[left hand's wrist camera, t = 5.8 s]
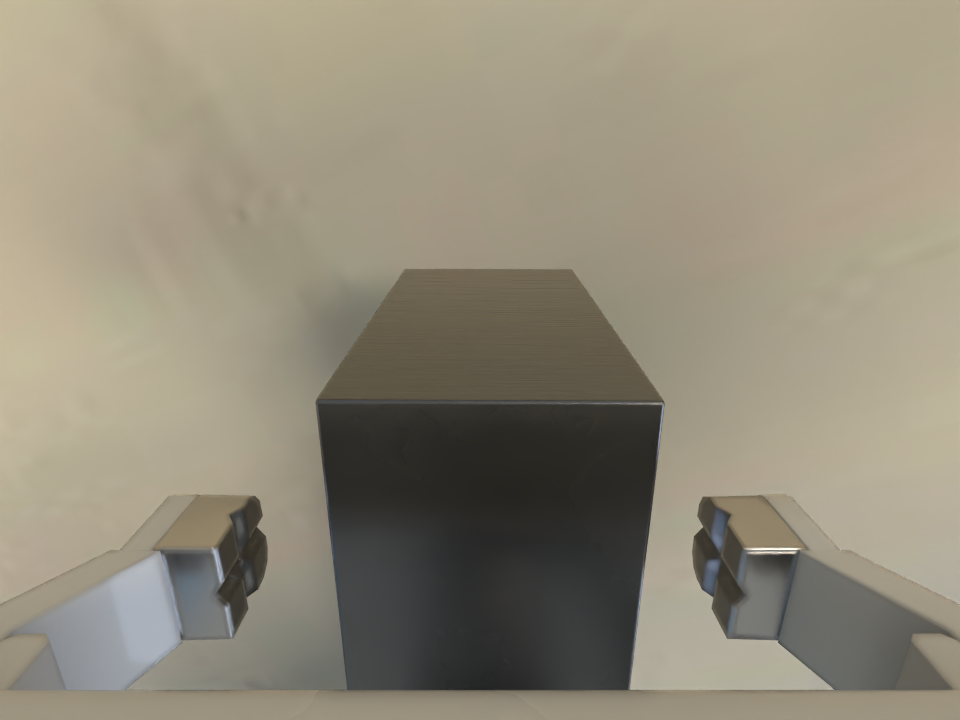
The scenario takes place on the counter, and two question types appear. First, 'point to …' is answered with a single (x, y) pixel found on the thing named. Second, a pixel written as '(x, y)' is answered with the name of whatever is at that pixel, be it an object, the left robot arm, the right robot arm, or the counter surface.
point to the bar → (489, 486)
